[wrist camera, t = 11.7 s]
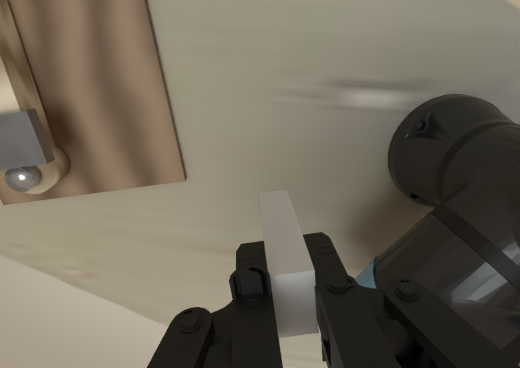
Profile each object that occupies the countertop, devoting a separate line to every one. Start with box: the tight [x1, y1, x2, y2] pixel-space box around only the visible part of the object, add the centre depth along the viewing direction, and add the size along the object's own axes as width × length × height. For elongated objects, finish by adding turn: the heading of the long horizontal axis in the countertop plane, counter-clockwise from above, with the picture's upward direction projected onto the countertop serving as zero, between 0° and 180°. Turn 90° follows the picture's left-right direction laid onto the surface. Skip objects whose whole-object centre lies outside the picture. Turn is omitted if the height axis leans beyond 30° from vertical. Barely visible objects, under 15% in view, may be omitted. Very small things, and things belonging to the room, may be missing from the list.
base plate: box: [0, 0, 186, 205], centre depth 37 cm, size 24×30×1 cm
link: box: [0, 0, 70, 194], centre depth 35 cm, size 24×5×4 cm, turn 5°
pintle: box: [5, 166, 41, 192], centre depth 36 cm, size 3×3×2 cm
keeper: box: [0, 109, 55, 170], centre depth 36 cm, size 12×6×7 cm, turn 97°
